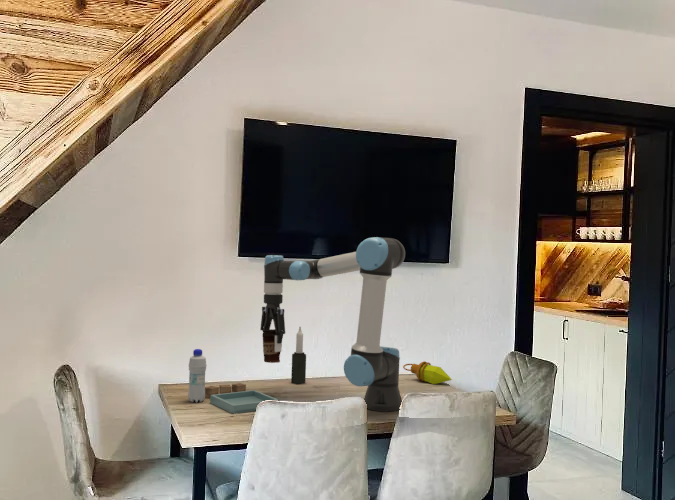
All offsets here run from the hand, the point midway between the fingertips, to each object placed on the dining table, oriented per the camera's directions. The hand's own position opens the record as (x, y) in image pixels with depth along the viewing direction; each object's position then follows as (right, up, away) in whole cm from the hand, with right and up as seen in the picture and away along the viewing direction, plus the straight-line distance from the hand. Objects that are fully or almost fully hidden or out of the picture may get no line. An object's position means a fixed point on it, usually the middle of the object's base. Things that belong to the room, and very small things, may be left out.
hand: (272, 350), depth 271 cm
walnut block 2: (-19, -18, -3) cm, 26 cm away
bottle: (-28, -18, -14) cm, 36 cm away
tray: (-9, -18, -18) cm, 27 cm away
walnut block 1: (-23, -18, -6) cm, 30 cm away
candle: (+9, -19, +26) cm, 33 cm away
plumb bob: (+67, -20, +37) cm, 80 cm away
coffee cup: (0, -5, 0) cm, 5 cm away
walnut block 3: (-14, -18, +1) cm, 23 cm away
